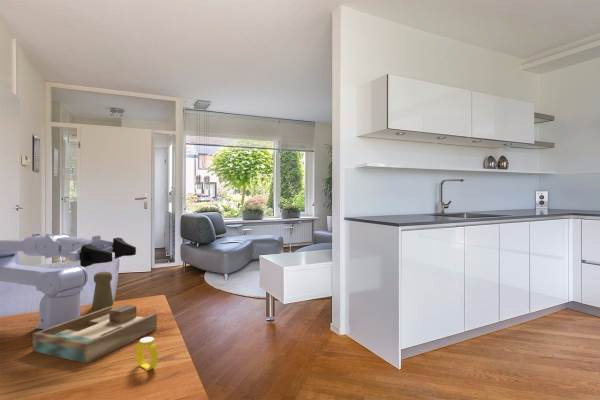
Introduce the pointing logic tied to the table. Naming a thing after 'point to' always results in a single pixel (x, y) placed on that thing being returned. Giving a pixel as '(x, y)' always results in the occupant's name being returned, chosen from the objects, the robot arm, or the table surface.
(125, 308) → the walnut block
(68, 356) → the board
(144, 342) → the watch
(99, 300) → the cork
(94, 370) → the table surface
